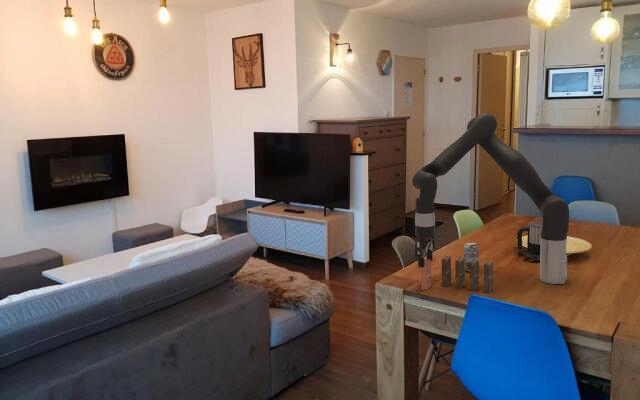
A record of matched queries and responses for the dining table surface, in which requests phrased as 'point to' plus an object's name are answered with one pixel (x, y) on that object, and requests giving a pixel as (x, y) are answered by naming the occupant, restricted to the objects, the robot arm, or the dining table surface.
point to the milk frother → (531, 239)
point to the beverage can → (470, 254)
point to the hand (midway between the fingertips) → (425, 264)
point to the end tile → (426, 274)
